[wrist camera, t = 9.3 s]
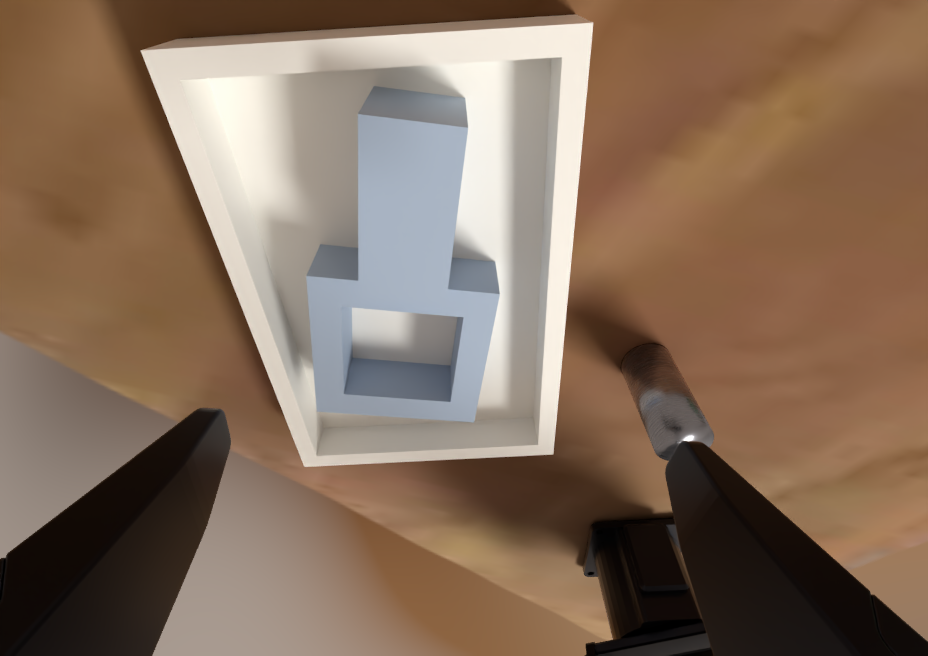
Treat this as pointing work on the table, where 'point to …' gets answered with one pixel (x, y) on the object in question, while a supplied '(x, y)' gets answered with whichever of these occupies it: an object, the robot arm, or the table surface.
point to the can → (664, 400)
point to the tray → (336, 207)
